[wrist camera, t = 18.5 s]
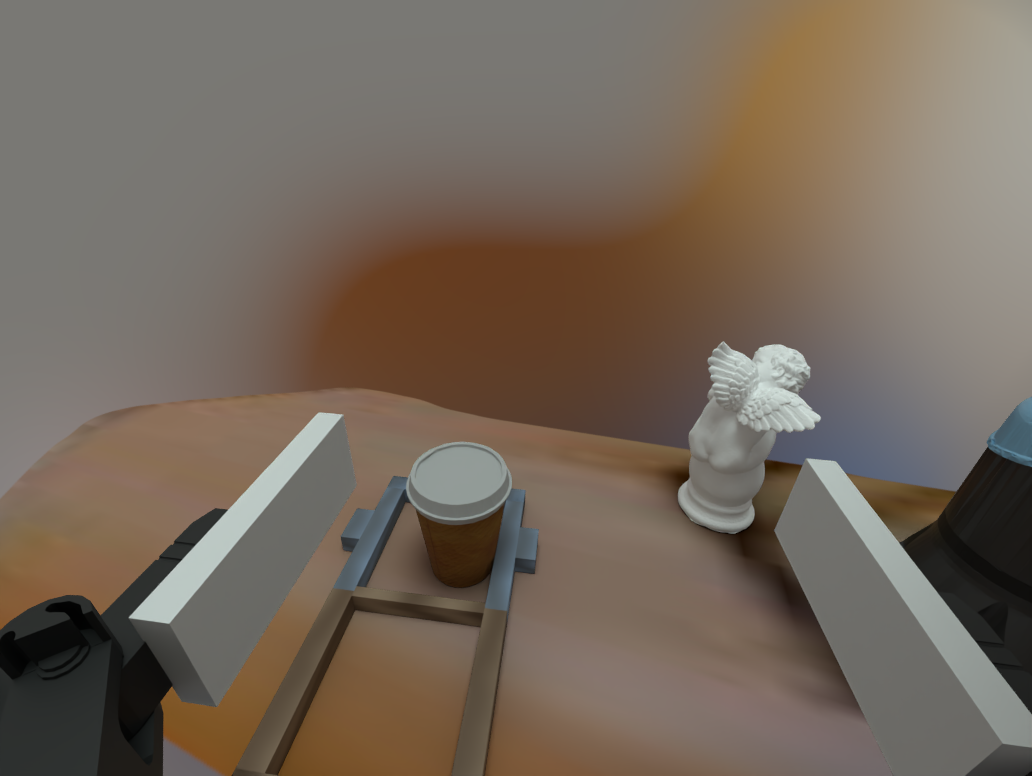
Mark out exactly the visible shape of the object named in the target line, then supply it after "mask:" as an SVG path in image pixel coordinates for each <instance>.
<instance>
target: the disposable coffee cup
mask: <svg viewBox="0 0 1032 776" xmlns="http://www.w3.org/2000/svg"><path fill="white" fill-rule="evenodd" d="M511 487H512V478H511V474H510V472H509V470H508V468H507V467H506V464H505V462H504V460H503V458H502V457H501V456H500V455H499V454H498V453H497V452H496V451H494V450H492V449H491V448H489V447H486V446H483V445H480V444H477V443H469V442H453V443H448V444H443V445H441V446H438V447H435V448H432V449H430V450H429V451H427V452H425V453H424V454H423V455H421V456H420V457H419V458H418V459H417V461H416V462H415V463H414V465H413V467H412V470H411V473H410V475H409V477H408V480H407V484H406V491H407V495H408V498H409V501H410V502H411V503H412V505H413V506H414V507H415V509H416V512H417V515H418V519H419V522H420V526H421V530H422V533H423V536H424V540H425V544H426V547H427V551H428V554H429V557H430V561H431V565H432V569H433V572H434V574H435V576H436V577H437V578H438V579H439V580H440V581H441V582H443V583H444V584H446V585H449V586H452V587H461V588H462V587H469V586H472V585H475V584H477V583H479V582H481V581H482V580H483V579H485V578H486V577H487V575H488V574H489V573H490V571H491V570H492V567H493V562H494V556H495V551H496V546H497V541H498V535H499V530H500V525H501V519H502V515H503V509H504V504H505V501H506V499H507V498H508V496H509V493H510V491H511Z"/></svg>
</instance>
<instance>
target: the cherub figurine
mask: <svg viewBox="0 0 1032 776" xmlns="http://www.w3.org/2000/svg"><path fill="white" fill-rule="evenodd" d="M708 364H709V365H710V366H711V367H710V368H709V372H710V373H711V374H712V375H711V377H710V378H711V380H712V381H714V384H713V385H712V389H710V391H709V392H708V399H709V401H710V402H709V403H708V404H707V406H706V407H705V409H704V410H703V413H702V415H701V416H700V417H699V419H698V420H697V422H696V424H695V425H694V427H693V429H692V430H691V431H690V432H689V445H690V450H691V454H692V456H691V459H690V464H689V473H690V478H689V480H688V481H686V482H685V483H684V484H683V485H682V486H681V487H680V489H679V491H678V502H679V505H680V506H681V508H682V510H683V511H684V512H685V513H686V515H687V516H688V517H689V519H690V520H691V521H694V522H695V523H697V524H699V525H702V526H706V527H707V528H710V529H712V530H714V531H718V532H727V533H731V534H732V533H734V534H735V533H737V532H739V531H741V530H744V529H747V527H748V526H749V525H750V524H751V523H752V522H753V520H754V516H755V512H754V508H753V505H752V498H753V497H754V496H755V495H756V494H757V493H758V491H759V490H760V488H761V486H762V484H763V481H764V475H765V466H764V461H765V459H766V458H767V457H768V455H769V453H770V451H771V449H772V446H773V445H774V443H775V440H776V433H777V432H781V431H782V430H784V431H786V432H788V433H790V432H792V431H798V432H800V431H803V430H804V429H809V430H810V429H813V428H814V427H815V425H814V424H815V423H818V422H819V421H820V419H821V418H820V416H819V415H818V414H816V413H815V412H813V411H811V410H812V408H810V407H809V406H808V405H807V404H806V403H805V401H804V400H803V399H801V398H800V397H799V396H798V393H799V390H801V389H802V388H803V387H804V385H805V383H806V382H807V380H809V378H810V367H809V366H807V364H806V361H805V359H804V357H803V355H802V354H800V353H799V352H798V351H796V350H793V349H790V348H787V347H785V346H783V345H780V344H779V345H769V346H764V347H763V348H759V350H758V351H756V352H755V355H754V358H753V359H752V360H750V359H749V358H748V357H746V356H745V355H744V354H742V353H739V352H738V351H734V350H731V349H730V348H729V347H728V345H726V343H724V342H722V343H721V344H720V345H719V346H718V347H717V349H714V350H713V352H712V357H710V358H708Z"/></svg>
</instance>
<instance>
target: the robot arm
mask: <svg viewBox="0 0 1032 776" xmlns="http://www.w3.org/2000/svg"><path fill="white" fill-rule="evenodd" d="M987 444H988V447H987V449H986V450H985V452H984V453H983V454H982V456H981V457H980V459H979V460H978V462H977V463H976V465H975V466H974V467H973V469H972V470H971V472H970V473H969V475H968V476H967V478H966V479H965V480H964V482H963V483H962V485H961V486H960V487H959V489H958V490H957V492H956V493H955V495H954V496H953V497H952V499H951V500H950V502H949V503H948V505H947V506H946V508H945V509H944V511H943V512H942V514H941V515H940V516H939V518H938V519H937V520H936V521H935V522H933V523H932V524H930V525H928V526H927V527H925V528H923V529H922V530H920V531H918V532H916V533H915V534H913V535H911V536H910V537H908V538H907V539H905V540H904V541H902V542H900V543H899V542H898V541H897V540H896V539H895V537H894V536H893V535H892V533H891V532H890V531H889V530H888V528H887V527H886V526H885V524H884V523H883V522H882V520H881V519H880V518H879V517H878V515H877V514H876V513H875V511H874V510H873V509H872V508H871V506H870V505H869V504H868V502H867V501H866V500H865V499H864V497H863V496H862V495H861V493H860V492H859V491H858V489H857V488H856V487H855V486H854V484H853V483H852V482H851V480H850V479H849V478H848V477H847V475H846V474H845V473H844V471H843V470H842V469H841V468H840V466H839V465H838V464H837V462H836V461H826V460H816V459H806V460H805V462H804V464H803V466H802V469H801V471H800V473H799V475H798V478H797V480H796V482H795V485H794V487H793V489H792V491H791V494H790V496H789V498H788V501H787V503H786V505H785V507H784V510H783V512H782V514H781V517H780V519H779V521H778V523H777V526H776V528H775V530H774V531H775V533H776V535H777V537H778V539H779V541H780V544H781V546H782V548H783V550H784V552H785V554H786V556H787V558H788V560H789V562H790V564H791V566H792V568H793V570H794V572H795V574H796V576H797V578H798V581H799V583H800V585H801V587H802V589H803V591H804V593H805V595H806V597H807V599H808V601H809V603H810V605H811V607H812V609H813V611H814V613H815V615H816V617H817V620H818V622H819V624H820V626H821V628H822V630H823V632H824V634H825V636H826V638H827V640H828V642H829V644H830V646H831V648H832V650H833V652H834V654H835V657H836V659H837V661H838V663H839V665H840V667H841V669H842V671H843V673H844V675H845V677H846V679H847V681H848V683H849V685H850V687H851V689H852V691H853V694H854V696H855V698H856V700H857V702H858V704H859V706H860V708H861V710H862V712H863V714H864V716H865V718H866V720H867V722H868V724H869V726H870V728H871V731H872V733H873V735H874V737H875V739H876V741H877V743H878V745H879V747H880V749H881V751H882V753H883V755H884V757H885V759H886V761H887V763H888V765H889V768H890V770H891V772H892V774H893V776H1032V397H1030V398H1028V399H1026V400H1024V401H1023V402H1021V403H1020V404H1019V405H1018V406H1017V407H1016V408H1015V409H1014V411H1013V412H1012V413H1011V414H1010V416H1009V417H1008V418H1007V419H1006V421H1005V422H1004V423H1003V424H1002V426H1001V427H1000V428H999V429H998V430H997V431H995V432H994V433H992V434H991V435H990V437H989V438H988V440H987ZM356 485H357V484H356V479H355V474H354V469H353V463H352V458H351V453H350V448H349V442H348V437H347V432H346V427H345V421H344V416H343V415H341V414H331V413H320V412H319V413H318V414H317V415H316V416H315V417H314V418H313V419H312V420H311V421H310V422H309V423H308V425H307V426H306V427H305V428H304V429H303V430H302V431H301V432H300V433H299V434H298V435H297V436H296V437H295V439H294V440H293V441H292V442H291V443H290V444H289V445H288V446H287V447H286V448H285V449H284V450H283V452H282V453H281V454H280V455H279V456H278V457H277V458H276V459H275V460H274V461H273V462H272V463H271V464H270V466H269V467H268V468H267V469H266V470H265V471H264V472H263V473H262V474H261V475H260V476H259V477H258V478H257V480H256V481H255V482H254V483H253V484H252V485H251V486H250V487H249V488H248V489H247V490H246V491H245V493H244V494H243V495H242V496H241V497H240V498H239V499H238V500H237V501H236V502H235V503H234V504H233V505H232V507H231V508H230V509H229V510H226V509H217V508H215V509H214V510H212V511H210V512H209V513H207V514H206V515H204V516H202V517H201V518H199V519H198V520H196V521H195V522H193V523H192V524H191V525H190V526H189V527H188V528H187V529H186V530H185V531H184V532H183V533H182V534H181V535H180V536H179V537H178V538H177V539H176V540H175V541H174V544H173V545H170V546H169V547H168V548H167V549H166V550H165V551H164V552H163V553H162V554H161V555H160V556H159V560H155V561H154V562H153V563H152V564H151V565H150V566H149V567H148V568H147V569H146V570H145V571H144V572H143V573H142V574H141V575H140V576H139V577H138V578H137V579H136V580H135V581H134V582H133V583H132V584H131V585H130V586H129V587H128V588H127V589H126V590H125V592H124V593H123V594H122V595H121V596H120V597H119V598H118V599H117V600H116V601H115V602H114V603H113V604H112V605H111V606H110V607H109V608H108V609H107V610H106V611H105V612H104V613H103V614H102V615H101V616H100V614H99V613H98V611H97V610H96V609H95V607H94V606H93V604H92V603H91V601H90V600H88V599H86V598H85V597H83V596H79V595H66V596H62V597H58V598H54V599H50V600H47V601H45V602H43V603H40V604H38V605H36V606H34V607H32V608H30V609H28V610H26V611H25V612H23V613H22V614H20V615H19V616H17V617H16V618H14V619H13V620H11V621H10V622H9V623H8V624H6V625H5V626H4V627H3V628H2V629H1V630H0V776H163V710H162V706H161V703H160V702H161V700H162V699H163V697H164V696H165V695H166V693H167V692H168V691H169V689H170V688H171V687H173V688H174V690H175V691H176V693H177V695H178V696H179V698H180V699H181V701H182V702H188V703H195V704H201V705H207V706H213V707H217V706H218V705H219V703H220V702H221V700H222V698H223V697H224V695H225V694H226V692H227V690H228V689H229V687H230V686H231V684H232V682H233V681H234V679H235V678H236V676H237V675H238V673H239V671H240V670H241V668H242V667H243V665H244V663H245V662H246V660H247V659H248V657H249V655H250V654H251V652H252V651H253V649H254V648H255V646H256V644H257V643H258V641H259V640H260V638H261V636H262V635H263V633H264V632H265V630H266V628H267V627H268V625H269V624H270V622H271V621H272V619H273V617H274V616H275V614H276V613H277V611H278V609H279V608H280V606H281V605H282V603H283V601H284V600H285V598H286V597H287V595H288V593H289V592H290V590H291V589H292V587H293V586H294V584H295V582H296V581H297V579H298V578H299V576H300V574H301V573H302V571H303V570H304V568H305V566H306V565H307V563H308V562H309V560H310V559H311V557H312V555H313V554H314V552H315V551H316V549H317V547H318V546H319V544H320V543H321V541H322V539H323V538H324V536H325V535H326V533H327V532H328V530H329V528H330V527H331V525H332V524H333V522H334V520H335V519H336V517H337V516H338V514H339V512H340V511H341V509H342V508H343V506H344V504H345V503H346V501H347V500H348V498H349V497H350V495H351V493H352V492H353V490H354V489H355V487H356Z"/></svg>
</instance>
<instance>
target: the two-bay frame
mask: <svg viewBox="0 0 1032 776" xmlns="http://www.w3.org/2000/svg"><path fill="white" fill-rule="evenodd" d="M407 480H408V478H407V477H398V476H393V478H392V479H391V481H390V483H389V485H388V487H387V489H386V491H385V492H384V494H383V496H382V498H381V500H380V502H379V504H378V505H377V507H376V509H375V511H374V510H365V509H357V510H356V511H355V513H354V515H353V517H352V518H351V520H350V522H349V523H348V525H347V527H346V528H345V530H344V532H343V534H342V535H341V541H342V545H343V549H344V550H346V551H353V552H352V554H351V555H350V557H349V559H348V561H347V563H346V565H345V567H344V568H343V570H342V572H341V574H340V576H339V578H338V580H337V581H336V583H335V585H334V587H333V589H332V591H331V593H330V594H329V596H328V598H327V600H326V602H325V604H324V606H323V607H322V609H321V611H320V613H319V615H318V617H317V618H316V620H315V622H314V624H313V626H312V628H311V630H310V631H309V633H308V635H307V637H306V639H305V641H304V643H303V644H302V646H301V648H300V650H299V652H298V654H297V656H296V657H295V659H294V661H293V663H292V665H291V667H290V669H289V670H288V672H287V674H286V676H285V678H284V680H283V682H282V683H281V685H280V687H279V689H278V691H277V693H276V694H275V696H274V698H273V700H272V702H271V704H270V706H269V707H268V709H267V711H266V713H265V715H264V717H263V719H262V720H261V722H260V724H259V726H258V728H257V730H256V732H255V733H254V735H253V737H252V739H251V741H250V743H249V745H248V746H247V748H246V750H245V752H244V754H243V756H242V757H241V759H240V761H239V763H238V765H237V767H236V769H235V770H234V772H233V774H232V776H278V773H279V770H280V768H281V766H282V764H283V762H284V760H285V758H286V755H287V753H288V751H289V749H290V747H291V745H292V743H293V741H294V738H295V736H296V734H297V732H298V730H299V728H300V726H301V724H302V721H303V719H304V717H305V715H306V713H307V711H308V709H309V706H310V704H311V702H312V700H313V698H314V696H315V694H316V692H317V689H318V687H319V685H320V683H321V681H322V679H323V677H324V674H325V672H326V670H327V668H328V666H329V664H330V662H331V660H332V657H333V655H334V653H335V651H336V649H337V647H338V645H339V643H340V640H341V638H342V636H343V634H344V632H345V630H346V628H347V625H348V623H349V621H350V619H351V617H352V615H353V613H354V611H355V610H361V611H368V612H375V613H383V614H390V615H398V616H405V617H412V618H420V619H427V620H435V621H442V622H449V623H457V624H464V625H472V626H479V627H481V629H480V634H479V639H478V644H477V649H476V654H475V659H474V664H473V669H472V674H471V679H470V684H469V690H468V695H467V700H466V705H465V710H464V715H463V720H462V725H461V730H460V735H459V740H458V745H457V750H456V755H455V760H454V765H453V770H452V775H451V776H485V769H486V762H487V755H488V749H489V742H490V735H491V728H492V721H493V715H494V708H495V701H496V694H497V688H498V681H499V674H500V667H501V660H502V654H503V647H504V640H505V633H506V627H507V620H508V613H509V606H510V599H511V593H512V586H513V579H514V572H515V571H517V572H525V573H533V574H534V573H535V563H536V553H537V544H538V531H539V529H532V528H523V527H521V525H522V518H523V511H524V505H525V490H520V489H511V491H510V493H509V496H508V498H507V499H506V501H505V504H504V509H503V513H504V514H503V519H502V524H501V529H500V534H499V539H498V544H497V549H496V554H495V559H494V564H493V569H492V574H491V579H490V584H489V589H488V594H487V599H486V603H482V602H475V601H467V600H459V599H452V598H444V597H436V596H429V595H421V594H413V593H406V592H398V591H390V590H383V589H375V588H367V587H366V585H367V583H368V581H369V579H370V576H371V574H372V572H373V570H374V568H375V566H376V564H377V562H378V559H379V557H380V555H381V553H382V551H383V549H384V547H385V545H386V542H387V540H388V538H389V536H390V534H391V532H392V530H393V527H394V525H395V523H396V521H397V519H398V517H399V515H400V513H401V510H402V508H403V506H404V504H405V502H410V501H409V498H408V495H407V491H406V484H407Z"/></svg>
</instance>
